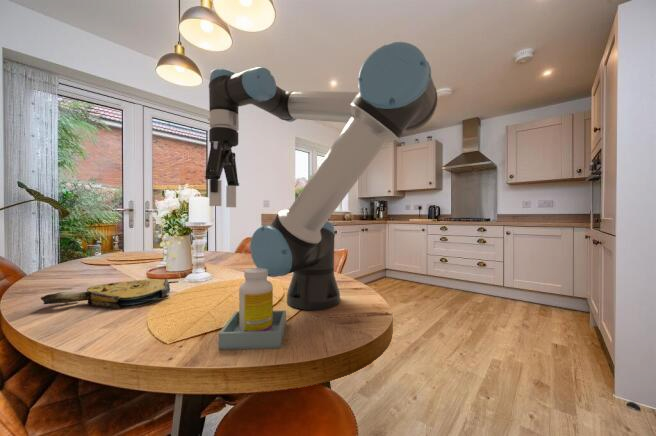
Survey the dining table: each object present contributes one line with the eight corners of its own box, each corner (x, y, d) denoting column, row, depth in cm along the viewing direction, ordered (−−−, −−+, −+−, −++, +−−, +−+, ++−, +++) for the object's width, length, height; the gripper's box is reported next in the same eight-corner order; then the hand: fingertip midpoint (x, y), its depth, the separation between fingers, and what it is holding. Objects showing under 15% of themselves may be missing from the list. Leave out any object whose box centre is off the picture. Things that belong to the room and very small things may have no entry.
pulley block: (59, 277, 76) (178, 271, 86) (61, 297, 77) (179, 288, 87) (23, 300, 63) (169, 289, 73) (26, 323, 64) (170, 309, 74)
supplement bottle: (279, 332, 55) (279, 270, 55) (249, 343, 51) (249, 275, 50) (262, 322, 60) (262, 265, 60) (233, 331, 55) (233, 269, 55)
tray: (285, 323, 61) (286, 310, 61) (280, 348, 50) (280, 332, 50) (235, 324, 60) (235, 311, 60) (218, 349, 49) (218, 333, 49)
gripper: (224, 141, 86) (224, 207, 87) (190, 112, 62) (190, 205, 62) (248, 142, 87) (248, 207, 87) (223, 113, 62) (223, 205, 62)
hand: (224, 206), depth 75 cm, fingers open, 13 cm apart
